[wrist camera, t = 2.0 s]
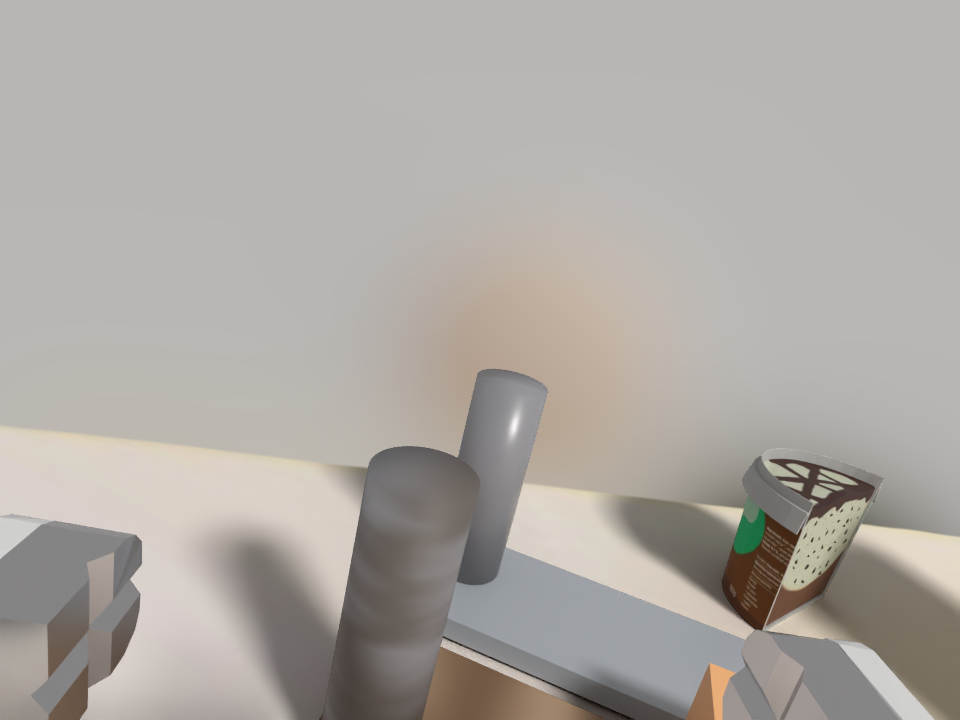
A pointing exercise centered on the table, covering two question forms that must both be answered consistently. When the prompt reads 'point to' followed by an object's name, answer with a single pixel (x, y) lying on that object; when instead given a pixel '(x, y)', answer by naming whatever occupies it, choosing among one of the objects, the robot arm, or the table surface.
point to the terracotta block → (710, 694)
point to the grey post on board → (417, 605)
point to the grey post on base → (563, 587)
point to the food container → (793, 532)
